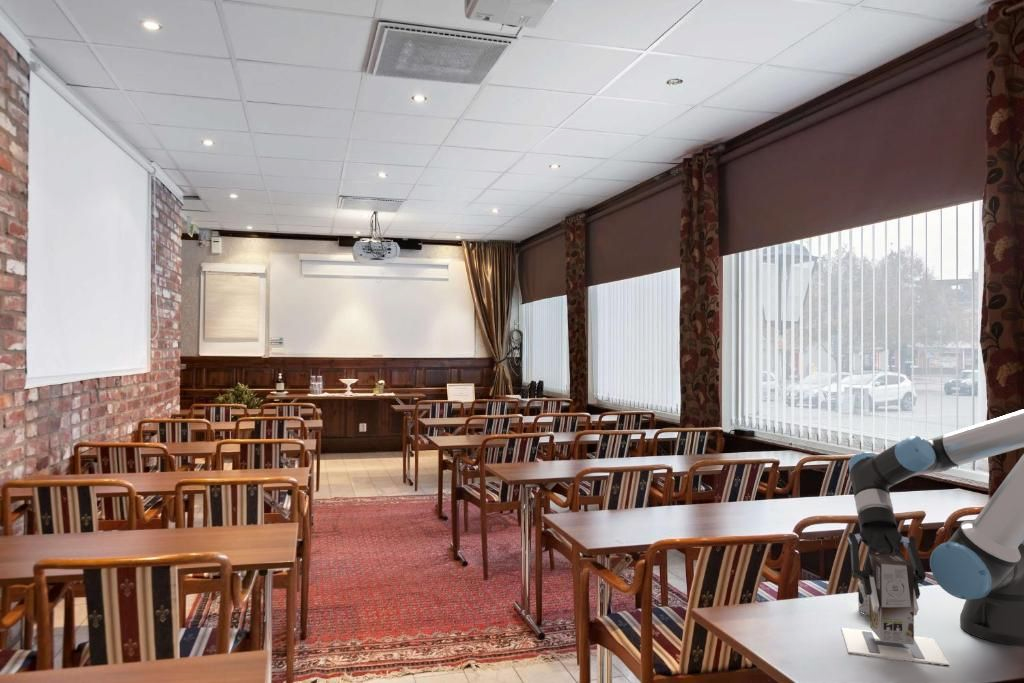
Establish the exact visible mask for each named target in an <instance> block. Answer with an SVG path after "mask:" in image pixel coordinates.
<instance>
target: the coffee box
mask: <svg viewBox="0 0 1024 683" xmlns="http://www.w3.org/2000/svg"><path fill="white" fill-rule="evenodd" d="M869 557H870V562H871V570H870V575H869V578H870V577H874V581H875V586H876V591H877V596H878V602H879V608H878V611H877V612H873V608H872V603H871V597H870V595H869V607H870V616H869V628H870V629H871V631H873V632H874V633H875V634H876V635H877V636H878V638H879V639H880V640H881V641H882V642H888V643H900V644H910V645H913V644H914V636H915V626H914V624H915V619H914V618H915V615H914V565H913V564H911V562H910V561H909V560H907V559H906V558H905V559H904V558H903V557H902V556H900V555H897V554H888V553H874V554H871V553H869Z"/></svg>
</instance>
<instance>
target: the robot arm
mask: <svg viewBox="0 0 1024 683" xmlns="http://www.w3.org/2000/svg"><path fill="white" fill-rule="evenodd" d="M1022 448H1024V409H1019V410H1017V411H1014V412H1011V413H1007V414H1005V415H1002V416H999V417H995V418H991V419H989V420H986V421H982V422H980V423H976V424H974V425H971V426H968V427H964V428H962V429H958V430H955V431H952V432H949V433H946V434H944V435H943V434H941V435H939V436H936V437H933V438H930V439H927V440H925V439H924V438H923V437H920V436H918V435H911V436H909V437H907V438H905V439H902V440H899V441H898V442H897V443H895V444H893V445H892V446H890V447H889V448H887V449H885V450H884V451H882V452H880V453H878V454H877V453H876V452H875V453H874V452H870V451H865V452H862V453H856V454H854V455H853V456H852V457H851V458H850V459H849V461H848V470H849V474H848V475H849V479H850V483H851V487H852V491H853V495H854V496H853V497H854V501H855V507H856V508H855V509H856V513H857V518H858V526H859V529H860V530H859V533H856V534H855V533H853V532H849V533H848V535H847V540H846V541H847V544H848V546H849V547H850V564H851V577H852V578H853V579H859V580H860V581H861V582H862V583H863V587H864V592H865V594H866V595H870V597H871V603H872V608H873V612H877V611H878V608H879V602H878V596H877V591H876V586H875V581H874V577H870V578H869V575H870V570H871V562H870V557H869V553H871V554H897V555H900V556H902V557H903V558H904V559H906V558H905V556H904V554H903V553H902V551H901V548H900V543H902V544H903V547H904V548H905V549H906V552H907V556H908V559H909V562H910V563H911V564H913V565H914V617H915V616H917V614H918V612H919V610H920V608H919V604H918V601H917V600H919V598H920V595H921V591H920V587H919V584H924V583H925V579H926V578H927V574H926V572H925V571H926V570H925V569H924V566H923V564H922V561H921V558H920V555H919V552H918V549H917V547H916V542H917V539H916V537H915V536H913V535H912V536H909V537H906V536H903V535H902V533H900V531H899V530H898V525H897V520H896V516H895V512H894V506H893V504H892V503H893V502H892V499H891V494H890V488H892V487H893V486H895V485H897V484H898V483H901V482H903V481H905V480H908V479H909V478H912V477H915V476H920V475H926V474H930V473H931V474H932V473H942V472H946V471H949V470H950V469H952V468H956V467H959V466H962V465H966V464H968V463H969V464H970V463H972V462H975V461H979V460H984V459H987V458H990V457H994V456H997V455H1001V454H1004V453H1008V452H1011V451H1015V450H1018V449H1019V450H1020V449H1022ZM860 541H861V542H862V543H864V545H865V546H866V547H868V550H867V554H866V557H865V558H866V559H865V563H864V567H863V571H862V570H861V569H860V554H859V544H860ZM929 567H930V568H929V569H930V570H931V573H932V576H933V579H934V581H936V583H937V584H938V586H940V587H939V588H941V589H943V591H944V592H946V593H947V594H949V595H950V596H953V597H954V598H957V599H960V600H965V602H964V604H963V607H962V609H961V612H960V613H959V614H960V615H959V627H960V628H961V629H962V630H963V631H965V632H967V633H968V634H970V635H973V636H974V637H977V638H980V639H984V640H988V641H991V642H996V643H999V644H1006V645H1014V646H1024V453H1023V454H1022V455H1021V457H1020V458H1019V460H1018V461H1017V462H1016V463H1015V465H1014V466H1013V467H1012V468H1011V470H1010V472H1009V473H1007V475H1006V477H1005V478H1004V480H1002V483H1001V484H1000V485H999V487H998V488H997V489H996V490H995V492H994V493H993V495H992V496H991V498H990V499H989V500H988V502H986V504H985V505H984V507H983V508H982V509H981V510H980V513H979V514H978V515H977V517H976V518H975V519H973V520H965V521H962V522H961V523H960V525H959V526H958V527H957V529H956V530H955V532H954V533H953V534H952V536H951V537H950V539H948V541H945V542H942V543H940V544H939V545H937V546H936V547H935V549H933V551H932V552H931V555H930V558H929Z"/></svg>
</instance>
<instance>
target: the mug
mask: <svg viewBox="0 0 1024 683" xmlns="http://www.w3.org/2000/svg"><path fill="white" fill-rule="evenodd" d="M857 585H858V586H857V588H858V589H857V590H858V592H857V593H858V598H857V599H858V600H857V601H858V604H857V605H858V612H859V611H860V612H862V613H864V614H866V615H865V616H867V615H868V616H867V617H870V607H869V595H866V594H865V592H864V587H863V583H862V582H861V580H859V581H858V582H857ZM860 612H859V613H860ZM862 613H861V614H862ZM864 614H863V615H864Z"/></svg>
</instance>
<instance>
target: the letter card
mask: <svg viewBox="0 0 1024 683" xmlns="http://www.w3.org/2000/svg"><path fill="white" fill-rule="evenodd" d="M841 629H842V630H841ZM840 630H841V632H843V633H842V636H844V637H843V639H845V640H844V644H845V647H846V646H847V647H846V650H847V653H854V654H853V655H856V654H860V655H859V656H864V655H866V656H865V657H872V658H880V659H888V660H896V661H897V660H898V661H904V660H906V661H905V662H912V661H914V663H920V662H923V663H922V664H928V663H931V664H930V665H935V664H940V665H939V666H943V665H949V666H950V663H949V662H948V660H947V658H946V657H945V655H944V653H943V652H942V650H941V649H940V647H939V645H938V644H937V642H936V641H935V640H936V639H935V638H933V637H926V636H917V635H916V636H915V635H914V644H913V645H910V644H900V643H888V642H882V641H881V640H880V639H879V638H878V636H877V635H876V634H875V633H874V632H873V630H864V629H856V628H846V627H841V628H840Z"/></svg>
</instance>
